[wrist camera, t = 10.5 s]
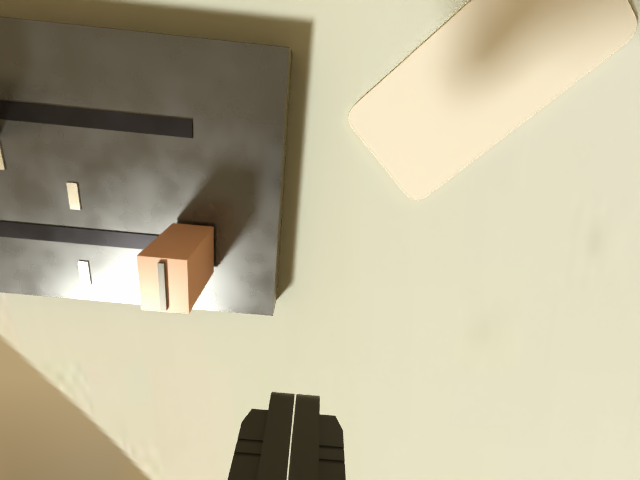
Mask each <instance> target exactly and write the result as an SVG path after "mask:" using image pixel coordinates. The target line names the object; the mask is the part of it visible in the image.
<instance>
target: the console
mask: <svg viewBox="0 0 640 480" xmlns="http://www.w3.org/2000/svg"><path fill="white" fill-rule="evenodd" d="M291 58H292V50H291V49H290V48H289V47H280V46H270V45H261V44H252V43H242V42H233V41H223V40H214V39H205V38H195V37H186V36H176V35H167V34H158V33H148V32H139V31H129V30H120V29H111V28H101V27H92V26H82V25H73V24H64V23H54V22H45V21H35V20H26V19H17V18H7V17H0V292H2V293H14V294H26V295H37V296H49V297H60V298H72V299H84V300H95V301H107V302H119V303H130V304H141V303H140V291H139V279H138V268H137V255H138V254H139V253H140V252H141V251H142V250H143V249H144V248H146V247H147V246H148V245H149V244H150V243H151V242H152V241H153V240H155V239H156V238H157V237H158V236H159V235H160V234H161V233H162V232H163V231H165V230H166V229H167V228H168V227H169V226H170V225H171V224H172V223H179V224H189V225H200V226H211V227H214V273H213V274H212V276H211V278H210V279H209V281H208V283H207V284H206V286H205V288H204V289H203V291H202V293H201V294H200V296H199V298H198V299H197V301H196V303H195V304H194V306H193V308H192V309H200V310H211V311H223V312H235V313H246V314H258V315H269V316H273V313H274V308H275V304H276V297H277V281H278V265H279V249H280V233H281V217H282V201H283V186H284V170H285V154H286V138H287V122H288V106H289V90H290V74H291Z"/></svg>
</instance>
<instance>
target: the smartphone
mask: <svg viewBox="0 0 640 480" xmlns="http://www.w3.org/2000/svg"><path fill="white" fill-rule="evenodd" d="M636 28H637V20H636V16H635V14H634V12H633V10H632V8H631V6H630V4H629V2H628V0H471V1H470V2H469V3H467V4H466V5H465V6H464V7H463V8H462V9H461V10H460V11H459V12H457V13H456V14H455V15H454V16H453V17H452V18H451V19H450V20H448V21H447V22H446V23H445V24H444V25H443V26H442V27H441V28H440V29H438V30H437V31H436V32H435V33H434V34H433V35H432V36H431V37H429V38H428V39H427V40H426V41H425V42H424V43H423V44H422V45H421V46H419V47H418V48H417V49H416V50H415V51H414V52H413V53H412V54H410V55H409V56H408V57H407V58H406V59H405V60H404V61H403V62H402V63H400V65H398V66H397V67H396V68H395V69H394V70H392V71H391V73H390V74H388V75H387V76H386V77H385V78H384V79H382V80H381V82H379V83H378V84H377V85H376V86H375V87H374V88H373V89H371V90H370V91H369V92H368V93H367V94H366V95H365V96H364V97H362V98H361V99H360V100H359V101H358V102H357V103H356V104H355V105H354V106H353V107H352V108H351V110H350V112H349V116H348V120H349V123H350V125H351V127H352V129H353V130H354V131H355V133H356V134H357V135H358V136H359V138H360V139H361V140H362V141H363V143H364V144H365V145H366V146H367V148H368V149H369V150H370V151H371V152H372V154H373V155H374V156H375V157H376V159H377V160H378V161H379V162H380V164H381V165H382V166H383V167H384V169H385V170H386V171H387V172H388V173H389V175H390V176H391V177H392V178H393V180H394V181H395V182H396V183H397V185H398V186H399V187H400V188H401V189H402V191H403V192H404V193H405V194H406V195H407V196H408V197H409V198H411V199H413V200H421V199H423V198H425V197H427V196H428V195H430V194H431V193H432V192H434V191H435V190H436V189H437V188H439V187H440V186H441V185H443V184H444V183H445V182H447V181H448V180H449V179H451V178H452V177H453V176H454V175H456V174H457V173H458V172H460V171H461V170H462V169H464V168H465V167H466V166H467V165H469V164H470V163H471V162H473V161H474V160H475V159H477V158H478V157H479V156H480V155H482V154H483V153H484V152H486V151H487V150H488V149H490V148H491V147H492V146H493V145H495V144H496V143H497V142H499V141H500V140H501V139H503V138H504V137H505V136H507V135H508V134H509V133H510V132H512V131H513V130H514V129H516V128H517V127H518V126H520V125H521V124H522V123H523V122H525V121H526V120H527V119H529V118H530V117H531V116H533V115H534V114H535V113H536V112H538V111H539V110H540V109H542V108H543V107H544V106H546V105H547V104H548V103H549V102H551V101H552V100H553V99H555V98H556V97H557V96H559V95H560V94H561V93H563V92H564V91H565V90H566V89H568V88H569V87H570V86H572V85H573V84H574V83H576V82H577V81H578V80H579V79H581V78H582V77H583V76H585V75H586V74H587V73H589V72H590V71H591V70H592V69H594V68H595V67H596V66H598V65H599V64H600V63H602V62H603V61H604V60H606V59H607V58H608V57H609V56H611V55H612V54H613V53H615V52H616V51H617V50H619V49H620V48H621V47H622V46H624V45H625V44H626V43H627V42H628V41H629V40H630V39H631V38H632V37H633V35H634V34H635V31H636Z"/></svg>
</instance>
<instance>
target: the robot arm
mask: <svg viewBox="0 0 640 480" xmlns="http://www.w3.org/2000/svg"><path fill="white" fill-rule="evenodd" d="M293 405H294V394H288V393H276V392H272V393H271V398H270V403H269V409H268V410H259V409H252V410H251V411H250V412H249V414H248V415H247V416H246V417H245V419H244V420H243V421H242V423H241V428H240V432H239V436H238V441H237V444H236V448H235V452H234V456H233V460H232V464H231V468H230V472H229V477H228V480H286V478H287V468H288V457H289V447H290V436H291V426H292V415H293ZM319 410H320V397H319V396H312V395H301V394H297V395H296V404H295V414H294V424H293V434H292V444H291V455H290V466H289V477H288V480H346V478H345V464H344V461H345V460H344V443H343V430H342V428H341V426H340V424H339V422H338V420H337V418H336V416H331V415H319Z"/></svg>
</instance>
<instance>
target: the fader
mask: <svg viewBox="0 0 640 480" xmlns="http://www.w3.org/2000/svg"><path fill="white" fill-rule="evenodd" d="M137 268H138V279H139V291H140V303H141V310H149V311H160V312H172V313H184V314H189V313H190V311H191V310H192V308H193V306H194V304H195V303H196V301H197V299H198V298H199V296H200V294H201V293H202V291H203V289H204V288H205V286H206V284H207V283H208V281H209V279H210V278H211V276H212V274H213V273H214V227H211V226H200V225H189V224H179V223H172V224H171V225H170V226H169V227H168V228H167V229H166V230H165V231H163V232H162V233H161V234H160V235H159V236H158V237H157V238H156V239H155V240H153V241H152V242H151V243H150V244H149V245H148V246H147V247H146V248H144V249H143V250H142V251H141V252H140V253H139V254H138V255H137Z"/></svg>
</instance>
